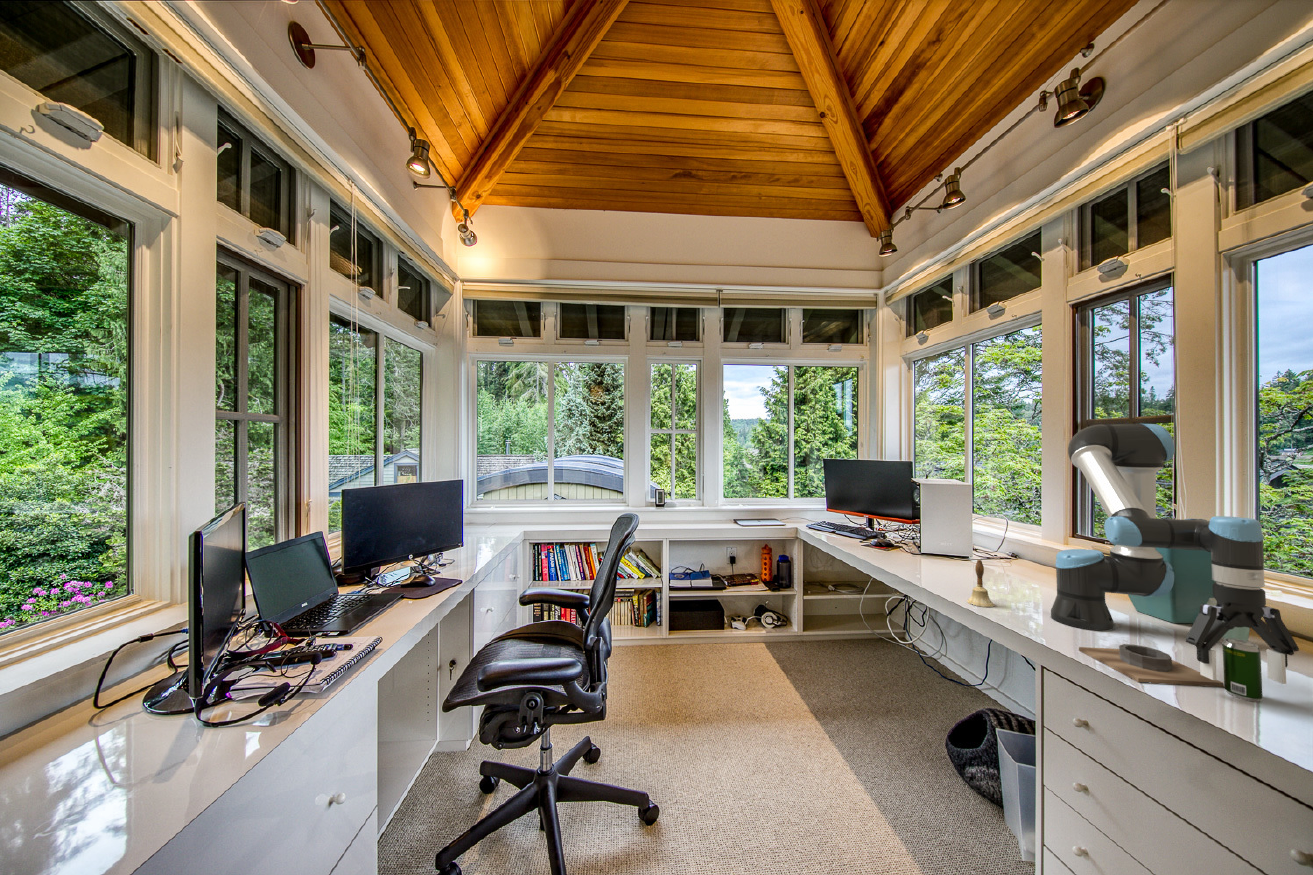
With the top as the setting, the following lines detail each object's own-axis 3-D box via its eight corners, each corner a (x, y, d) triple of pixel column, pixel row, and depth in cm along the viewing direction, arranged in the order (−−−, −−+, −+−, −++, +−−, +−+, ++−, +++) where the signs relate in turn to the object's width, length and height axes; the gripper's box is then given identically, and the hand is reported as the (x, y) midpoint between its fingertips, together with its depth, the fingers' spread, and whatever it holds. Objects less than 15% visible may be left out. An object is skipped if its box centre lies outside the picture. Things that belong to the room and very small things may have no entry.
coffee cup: (1265, 650, 128) (1263, 607, 128) (1228, 648, 130) (1226, 605, 130) (1233, 638, 136) (1231, 598, 137) (1198, 636, 138) (1197, 596, 138)
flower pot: (1112, 606, 165) (1109, 528, 166) (1169, 607, 164) (1166, 528, 165) (1172, 627, 145) (1168, 538, 146) (1238, 628, 144) (1234, 538, 145)
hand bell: (963, 599, 173) (962, 557, 174) (988, 601, 171) (987, 558, 172) (972, 606, 165) (971, 562, 166) (998, 608, 163) (997, 563, 164)
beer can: (1261, 704, 100) (1258, 649, 101) (1222, 694, 105) (1220, 641, 105) (1264, 697, 103) (1261, 643, 103) (1226, 687, 108) (1223, 636, 108)
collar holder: (1078, 650, 128) (1078, 636, 128) (1151, 653, 126) (1150, 639, 126) (1138, 682, 110) (1137, 665, 110) (1223, 686, 108) (1222, 669, 108)
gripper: (1193, 587, 103) (1197, 683, 102) (1323, 591, 99) (1328, 691, 99) (1160, 578, 110) (1164, 668, 109) (1280, 582, 107) (1285, 674, 106)
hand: (1242, 679), depth 104 cm, fingers open, 13 cm apart
